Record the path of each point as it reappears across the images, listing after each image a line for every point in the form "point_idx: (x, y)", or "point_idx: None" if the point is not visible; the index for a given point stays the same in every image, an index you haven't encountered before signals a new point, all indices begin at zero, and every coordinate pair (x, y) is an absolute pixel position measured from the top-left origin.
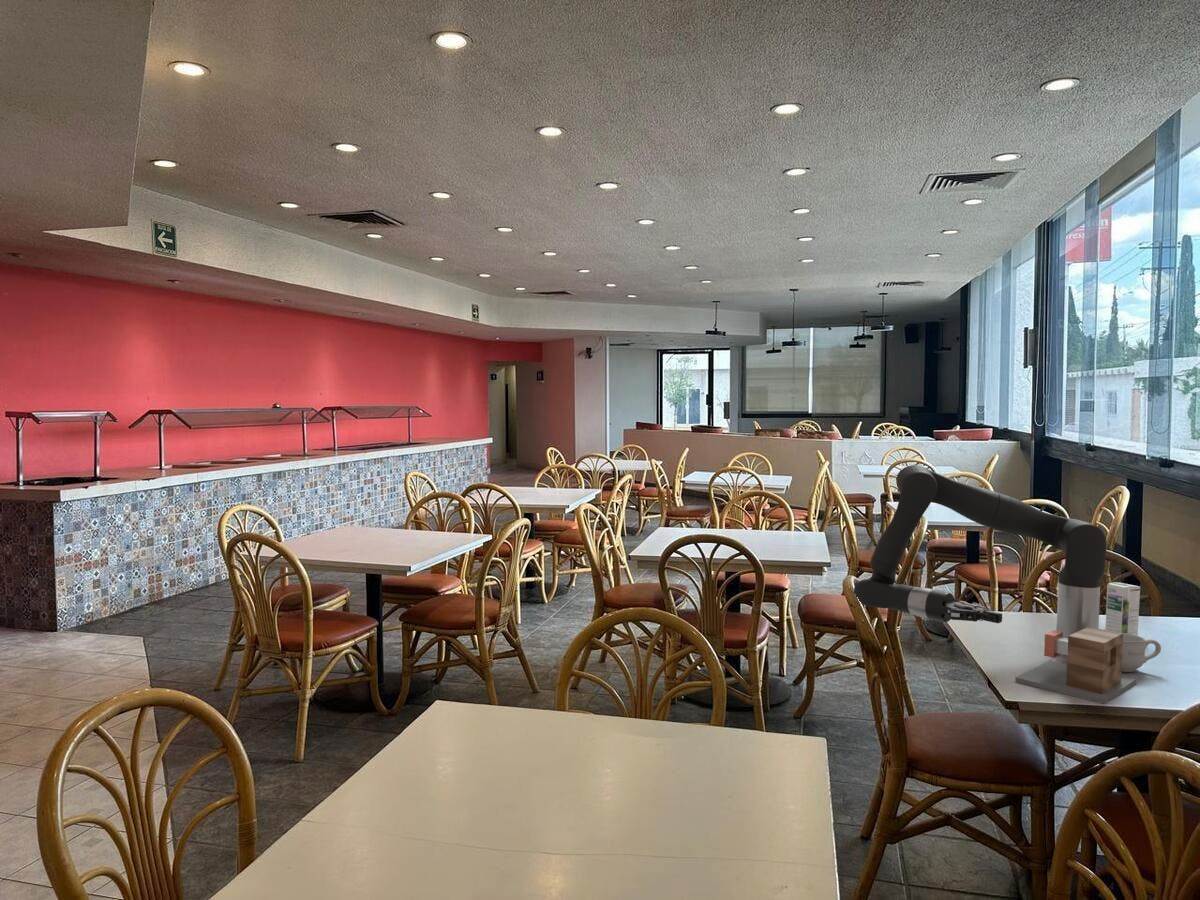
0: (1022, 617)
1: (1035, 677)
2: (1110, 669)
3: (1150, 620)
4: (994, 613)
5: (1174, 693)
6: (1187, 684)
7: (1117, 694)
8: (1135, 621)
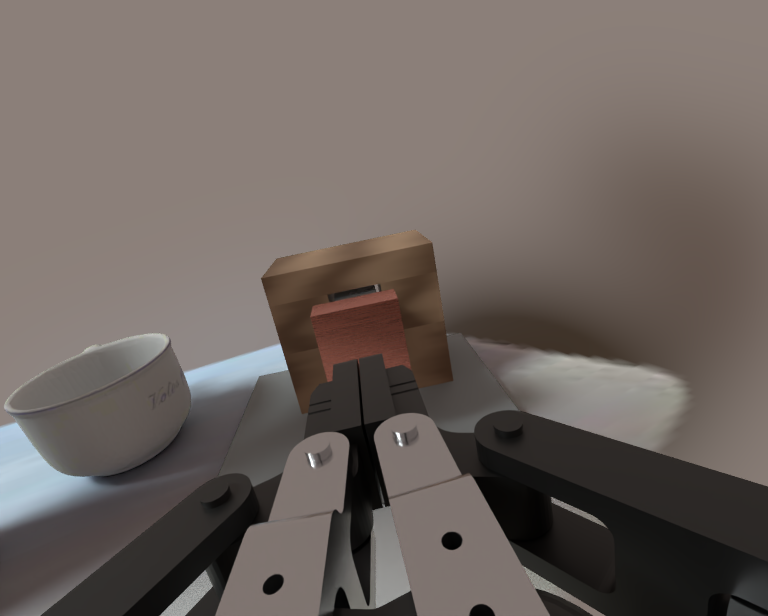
0: None
1: (473, 432)
2: None
3: None
4: (382, 367)
5: (279, 353)
6: (198, 369)
7: None
8: None
